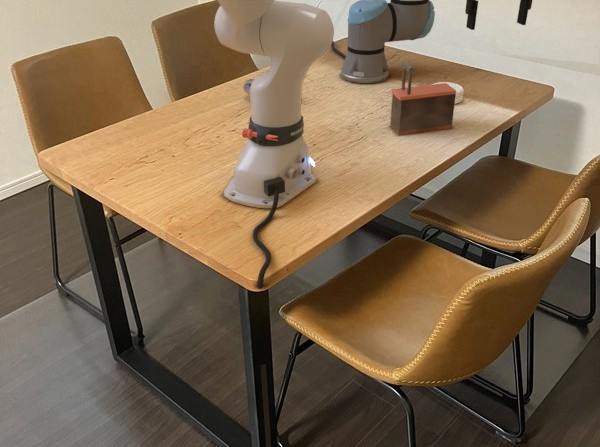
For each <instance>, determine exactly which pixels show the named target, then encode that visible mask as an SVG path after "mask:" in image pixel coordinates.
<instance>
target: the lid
mask: <svg viewBox="0 0 600 447" xmlns="http://www.w3.org/2000/svg"><path fill="white" fill-rule="evenodd" d="M401 68H402V74H401V75H402V76H401V86H400V87H399V88H392V89H390V93H391V94H393V95H395V96H396V97H397V98H398V99H399V100H408V99H416V98H425V97H433V96H442V95H450V94H456V90H455V89H453V88H452V87H450V86H449V85H448V84H446V83H443V84H434V83H433V84H434V85H432V84H427V85H425V84H424V85H418V86H412V83H413V82H412V81H413V80H412V79H413V73H414V71H415V68H414V66H412V65H411V64H410V63H408V62H407V61H403V62H401ZM407 72H408V77H407ZM406 79H407V80H406ZM406 81H407V87H406Z"/></svg>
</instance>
